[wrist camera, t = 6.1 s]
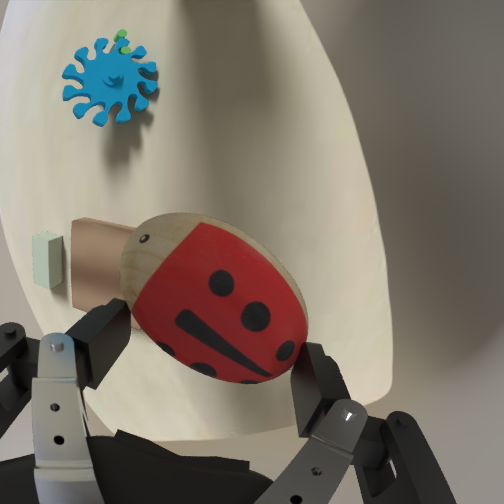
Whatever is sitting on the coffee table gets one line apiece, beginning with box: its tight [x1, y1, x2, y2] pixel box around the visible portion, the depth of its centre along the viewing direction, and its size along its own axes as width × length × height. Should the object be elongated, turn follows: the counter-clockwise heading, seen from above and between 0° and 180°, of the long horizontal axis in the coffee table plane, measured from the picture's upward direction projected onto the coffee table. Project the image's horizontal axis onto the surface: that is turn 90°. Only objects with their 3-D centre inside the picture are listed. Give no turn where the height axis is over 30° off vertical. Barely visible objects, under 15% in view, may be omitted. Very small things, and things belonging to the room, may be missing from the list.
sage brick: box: [32, 231, 63, 290], centre depth 25 cm, size 6×3×3 cm, turn 167°
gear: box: [62, 30, 158, 127], centre depth 20 cm, size 11×6×10 cm
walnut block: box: [71, 218, 141, 329], centre depth 26 cm, size 10×9×3 cm
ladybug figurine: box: [119, 213, 308, 384], centre depth 11 cm, size 7×10×4 cm
